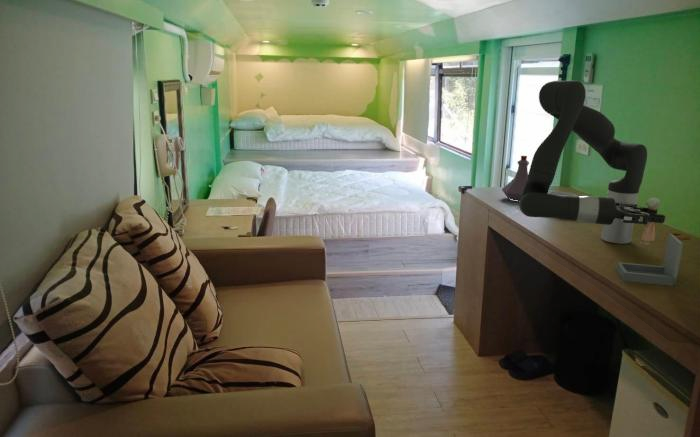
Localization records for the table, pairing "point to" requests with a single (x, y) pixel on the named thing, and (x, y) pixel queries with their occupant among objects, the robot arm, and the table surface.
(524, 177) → the flask
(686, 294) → the table surface
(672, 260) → the case
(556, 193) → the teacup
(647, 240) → the grandmother figurine
